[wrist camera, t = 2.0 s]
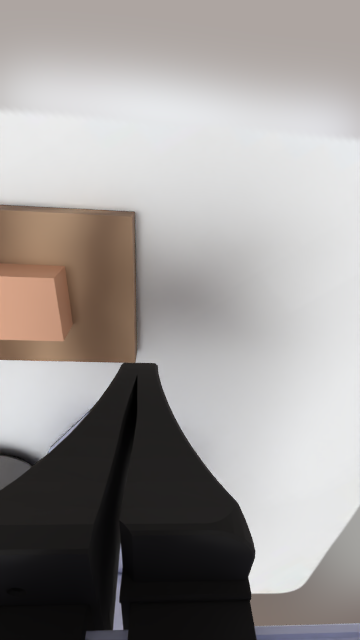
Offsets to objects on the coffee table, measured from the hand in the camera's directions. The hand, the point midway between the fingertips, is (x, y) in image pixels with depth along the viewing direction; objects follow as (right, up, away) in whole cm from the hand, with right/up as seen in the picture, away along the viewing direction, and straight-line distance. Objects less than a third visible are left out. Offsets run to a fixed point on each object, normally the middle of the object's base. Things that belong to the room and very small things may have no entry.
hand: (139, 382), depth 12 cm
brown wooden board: (-9, +5, +8) cm, 13 cm away
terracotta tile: (-7, +4, +7) cm, 11 cm away
